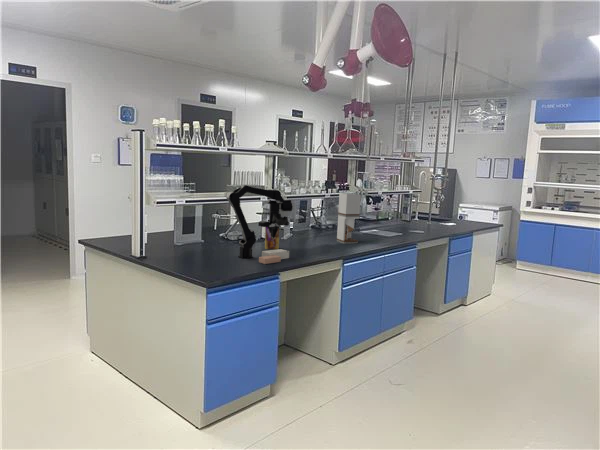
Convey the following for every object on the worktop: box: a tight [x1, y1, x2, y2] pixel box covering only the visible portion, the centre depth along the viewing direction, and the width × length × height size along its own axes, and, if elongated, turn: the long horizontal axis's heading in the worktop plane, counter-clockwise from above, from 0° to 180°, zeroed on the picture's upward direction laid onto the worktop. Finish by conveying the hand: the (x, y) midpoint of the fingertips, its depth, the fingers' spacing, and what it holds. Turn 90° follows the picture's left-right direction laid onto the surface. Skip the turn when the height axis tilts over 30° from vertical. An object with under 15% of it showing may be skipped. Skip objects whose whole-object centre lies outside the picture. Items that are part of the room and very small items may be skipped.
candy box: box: [264, 227, 280, 250], centre depth 284 cm, size 9×4×15 cm, turn 96°
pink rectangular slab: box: [258, 255, 282, 265], centre depth 245 cm, size 11×5×3 cm, turn 132°
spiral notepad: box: [261, 248, 290, 260], centre depth 257 cm, size 14×8×4 cm, turn 132°
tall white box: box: [336, 192, 362, 245], centre depth 319 cm, size 11×11×35 cm
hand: (273, 237), depth 260 cm, fingers closed
